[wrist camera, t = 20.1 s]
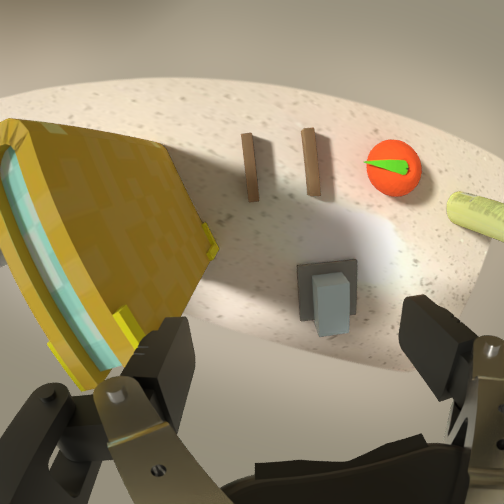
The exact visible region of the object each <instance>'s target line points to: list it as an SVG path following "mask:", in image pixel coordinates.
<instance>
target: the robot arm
mask: <svg viewBox="0 0 504 504" xmlns="http://www.w3.org/2000/svg"><path fill="white" fill-rule="evenodd" d="M5 265H7V262H6V260H5V257H4V255H3V253H2V250H1V248H0V267H2V266H5ZM399 344H400V347H401V349H402V350H403V352H404V353H405V354H406V356H407V357H408V358H409V360H410V361H411V362H412V364H413V365H414V367H415V368H416V369H417V371H418V372H419V374H420V375H421V376H422V378H423V379H424V381H425V382H426V383H427V385H428V386H429V388H430V389H431V391H432V392H433V393H434V395H435V396H436V398H437V399H438V401H439V402H440V401H443V400H446V399H449V398H453V399H454V400H453V403H452V405H451V408H450V413H449V418H448V423H447V428H446V431H445V436H444V440H443V443H426V441H425V439H424V437H423V435H422V434H418V435H415V436H412V437H408V438H406V439H402V440H398V441H395V442H391V443H387V444H385V445H383V446H380V447H378V448H376V449H374V450H372V451H370V452H368V453H366V454H364V455H361V456H359V457H357V458H355V459H352V460H350V461H346V462H329V461H309V460H293V461H282V462H268V463H255V475H251V476H247V477H244V478H241V479H238V480H235V481H233V482H231V483H228V484H226V485H224V486H222V487H221V488H219V487H218V486H217V484H216V483H215V482H214V481H213V480H212V479H211V477H209V475H208V474H207V473H206V472H205V470H204V469H203V468H202V467H201V466H200V464H199V463H198V462H197V460H196V459H195V458H194V457H193V455H192V454H191V453H190V452H189V450H188V449H187V448H186V446H185V445H184V444H183V442H182V441H181V440H180V438H179V437H178V436H177V433H178V429H179V426H180V421H181V418H182V414H183V410H184V407H185V403H186V399H187V395H188V392H189V388H190V384H191V381H192V377H193V373H194V370H195V353H194V348H193V343H192V338H191V333H190V328H189V323H188V319H187V318H186V317H165V318H164V320H163V322H162V324H161V325H160V327H159V329H158V330H152V331H151V332H150V333H148V334H147V335H146V336H144V337H143V338H142V340H141V341H140V343H139V345H138V348H136V349H135V351H134V353H133V355H132V356H131V358H130V359H129V361H128V363H127V364H126V366H125V368H124V369H123V371H122V373H121V375H120V376H116V377H111V378H109V379H106V380H104V381H102V382H101V383H100V384H99V385H97V387H96V388H95V390H94V392H93V394H92V395H83V396H71V395H70V392H69V390H68V389H67V387H66V386H65V385H63V384H61V383H48V384H45V385H42V386H41V387H39V388H37V389H36V390H35V391H34V392H33V393H32V394H31V395H30V397H29V398H28V400H27V401H26V402H25V404H24V405H23V406H22V408H21V409H20V411H19V412H18V413H17V415H16V416H15V418H14V419H13V420H12V422H11V424H10V425H9V426H8V428H7V429H6V431H5V432H4V434H3V435H2V437H1V438H0V504H88V500H89V497H90V494H91V492H92V489H93V486H94V483H95V480H96V477H97V474H98V471H99V469H100V466H101V463H102V461H104V460H114V463H115V465H116V468H117V470H118V472H119V474H120V476H121V478H122V480H123V482H124V485H125V487H126V489H127V490H128V493H129V495H130V497H131V499H132V500H133V502H134V504H504V340H502V339H500V338H498V337H495V336H490V335H484V336H480V337H478V336H477V335H476V334H475V333H474V332H473V331H471V330H470V329H469V328H468V327H467V326H465V324H463V323H462V322H460V320H459V319H458V318H456V317H454V315H453V314H452V313H451V312H449V311H448V310H447V309H445V308H443V307H440V306H438V305H437V304H435V303H434V302H433V301H432V300H431V299H429V298H428V297H427V296H426V295H424V294H422V295H416V296H409V297H406V298H405V299H404V302H403V308H402V315H401V322H400V329H399ZM56 445H57V446H58V448H59V449H60V450H59V452H58V454H57V456H56V458H55V460H54V463H53V464H52V466H51V468H50V471H49V468H48V463H49V459H50V457H51V455H52V453H53V451H54V449H55V447H56Z"/></svg>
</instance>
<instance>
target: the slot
mask: <svg viewBox="0 0 504 504" xmlns="http://www.w3.org/2000/svg"><path fill="white" fill-rule="evenodd" d="M301 135H302V144H303V153H304V163H305V173H306V184H307V195H309V196H321V192H320V180H319V169H318V159H317V149H316V140H315V131H314V128H304V129H303V130H302V131H301ZM241 138H242V147H243V156H244V165H245V173H246V182H247V191H248V200H249V202H256V201H259V192H258V183H257V174H256V165H255V156H254V147H253V138H252V133H245V134H241Z"/></svg>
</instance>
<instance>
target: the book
mask: <svg viewBox="0 0 504 504" xmlns="http://www.w3.org/2000/svg"><path fill="white" fill-rule="evenodd" d="M0 248H1V250H2V253H3V255H4V257H5V260H6V262H7V264H8V266H9V268H10V271H11V273H12V275H13V277H14V279H15V281H16V283H17V285H18V287H19V289H20V291H21V293H22V295H23V296H24V298H25V300H26V302H27V304H28V306H29V307H30V309H31V311H32V313H33V314H34V316H35V318H36V319H37V321H38V323H39V325H40V326H41V328H42V329H43V331H44V333H45V334H46V336H47V337H48V339H49V342H48V343H47V345H48V347H49V348H50V350H51V351H52V353H53V354H54V355H55V357H56V358H57V359H58V361H59V363H60V364H61V365H62V367H63V368H64V370H65V371H66V372H67V374H68V375H69V376H70V377H71V379H72V380H73V381H74V383H75V384H76V385H77V387H78V388H79V389H80V390H81V391H86V390H91V389H95V388H96V387H97V385H99V384H100V383H101V382H102V381H104V380H105V379H106V377H107V375H108V374H109V373H110V371H111V370H112V368H114V367H117V366H121V365H123V367H124V368H125V366H126V364H127V363H128V361H129V359H130V358H131V356H132V355H133V353H134V351H135V349H136V348H138V345H139V343H140V341H141V340H142V338H143V337H144V336H146V335H147V334H148V333H150V332H151V331H152V330H158V329H159V327H160V325H161V324H162V322H163V320H164V318H165V317H181V315H182V313H183V311H184V309H185V308H186V306H187V304H188V302H189V300H190V298H191V296H192V294H193V292H194V290H195V289H196V287H197V285H198V283H199V281H200V279H201V277H202V275H203V273H204V272H205V270H206V268H207V266H208V264H209V262H210V261H212V260H214V258H215V256H216V254H217V252H218V250H219V247H218V245H217V243H216V241H215V239H214V237H213V235H212V233H211V231H210V229H209V227H208V225H207V223H206V222H205V223H203V224H202V222H201V220H200V218H199V216H198V214H197V211H196V209H195V207H194V205H193V203H192V201H191V199H190V197H189V195H188V193H187V191H186V189H185V187H184V185H183V183H182V181H181V179H180V177H179V175H178V172H177V170H176V168H175V166H174V164H173V162H172V160H171V158H170V156H169V154H168V151H167V149H166V148H165V147H164V146H162V145H161V144H160V143H157V142H153V141H149V140H144V139H140V138H135V137H130V136H125V135H120V134H115V133H110V132H104V131H99V130H93V129H87V128H81V127H75V126H68V125H62V124H55V123H47V122H39V121H31V120H22V119H12V118H8V119H6V120H4V121H2V122H0Z"/></svg>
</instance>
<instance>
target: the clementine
mask: <svg viewBox="0 0 504 504" xmlns="http://www.w3.org/2000/svg"><path fill="white" fill-rule="evenodd" d="M364 163H367V173H368V177H369V179H370V181H371V183H372V185H373V186H374V187H375V188H376V189H377V190H379V191H380V192H382V193H384V194H385V195H388V196H403V195H406V194H408V193H410V192H411V191H412V190H413V189H414V188H415V187H416V186H417V185H418V183H419V180H420V178H421V173H422V171H421V162H420V159H419V157H418V155H417V153H416V152H415V151H414V150H413V148H412V147H411V146H409V145H408V144H406V143H405V142H402V141H399V140H385V141H382V142H381V143H379V144H377V145H376V146H375V147H374V148H373V149H372V150H371V151H370V154H369V156H368V159H367V161H365V162H364Z"/></svg>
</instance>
